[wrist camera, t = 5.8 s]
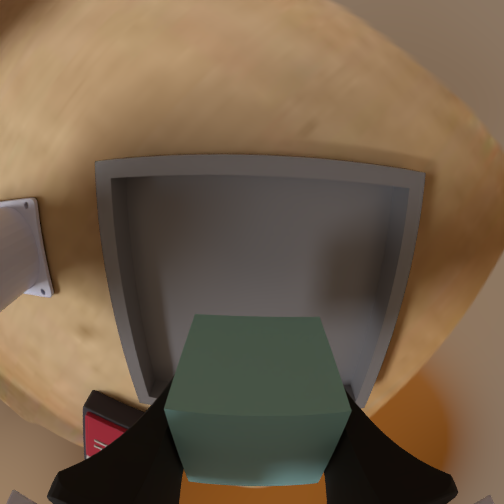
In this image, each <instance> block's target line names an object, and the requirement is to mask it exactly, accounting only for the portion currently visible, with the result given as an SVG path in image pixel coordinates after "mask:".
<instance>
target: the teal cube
mask: <svg viewBox="0 0 504 504" xmlns="http://www.w3.org/2000/svg"><path fill="white" fill-rule="evenodd" d="M164 411H165V414H166V418H167V421H168V424H169V427H170V430H171V433H172V436H173V439H174V442H175V445H176V448H177V451H178V454H179V457H180V460H181V462H182V465H183V468H184V470H185V473H186V475H187V478H188V480H189V481H191V482H199V483H209V484H221V485H238V486H282V485H300V484H311V483H318V481H319V480H320V478H321V476H322V474H323V472H324V470H325V468H326V466H327V464H328V462H329V460H330V458H331V456H332V454H333V452H334V450H335V448H336V446H337V444H338V441H339V439H340V437H341V435H342V432H343V430H344V428H345V426H346V423H347V421H348V419H349V416H350V414H351V408H350V404H349V401H348V398H347V395H346V392H345V389H344V386H343V383H342V380H341V377H340V374H339V371H338V368H337V365H336V362H335V359H334V356H333V353H332V350H331V347H330V345H329V342H328V339H327V336H326V333H325V330H324V328H323V325H322V322H321V319H320V317H259V316H225V315H203V314H195V315H194V318H193V321H192V324H191V327H190V330H189V333H188V336H187V339H186V342H185V345H184V348H183V351H182V354H181V357H180V360H179V363H178V366H177V369H176V372H175V375H174V378H173V381H172V385H171V388H170V391H169V394H168V397H167V400H166V404H165V407H164Z"/></svg>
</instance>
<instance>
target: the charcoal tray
mask: <svg viewBox="0 0 504 504" xmlns="http://www.w3.org/2000/svg"><path fill="white" fill-rule="evenodd" d="M425 174H426V173H424V172H419V171H414V170H409V169H403V168H397V167H391V166H384V165H377V164H369V163H361V162H353V161H344V160H334V159H324V158H312V157H298V156H281V155H257V154H183V155H160V156H143V157H130V158H118V159H109V160H101V161H95V179H96V195H97V208H98V219H99V228H100V236H101V244H102V251H103V258H104V264H105V270H106V276H107V282H108V287H109V292H110V297H111V302H112V307H113V311H114V316H115V320H116V324H117V328H118V332H119V336H120V340H121V344H122V348H123V351H124V355H125V358H126V362H127V365H128V368H129V372H130V375H131V378H132V381H133V384H134V387H135V390H136V393H137V396H138V399H139V402H140V403H144V404H150V405H152V404H153V403H154V401H155V400H156V399H157V398H158V396H159V395H160V394H161V393H162V391H163V390H164V389H165V387H166V386H167V385H168V383H169V382H170V380H171V379H172V378H173V376H174V375H175V372H176V369H177V366H178V363H179V360H180V357H181V354H182V351H183V348H184V345H185V342H186V339H187V336H188V333H189V330H190V327H191V324H192V321H193V318H194V315H195V314H203V315H225V316H259V317H320V319H321V322H322V325H323V328H324V330H325V333H326V336H327V339H328V342H329V345H330V347H331V350H332V353H333V356H334V359H335V362H336V365H337V368H338V371H339V374H340V377H341V380H342V383H343V386H344V388H345V389H346V391H347V392H348V393H349V395H350V396H351V397H352V399H353V400H354V401H355V403H356V404H357V405H358V406H359V407H360V408H364V407H365V405H366V402H367V400H368V398H369V395H370V393H371V391H372V388H373V386H374V383H375V381H376V378H377V376H378V373H379V371H380V368H381V366H382V363H383V360H384V357H385V355H386V352H387V349H388V346H389V343H390V340H391V337H392V334H393V331H394V328H395V324H396V321H397V318H398V315H399V311H400V308H401V304H402V300H403V297H404V293H405V289H406V285H407V281H408V277H409V273H410V268H411V264H412V259H413V254H414V249H415V244H416V239H417V233H418V228H419V222H420V215H421V208H422V201H423V193H424V184H425Z"/></svg>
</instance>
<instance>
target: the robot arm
mask: <svg viewBox="0 0 504 504" xmlns="http://www.w3.org/2000/svg"><path fill="white" fill-rule="evenodd" d="M27 203H28V205H29V206H28V205H27ZM23 293H24V294H30V295H36V296H42V297H48V298H50V297H51V296H53V294H54V290H53V287H52V283H51V278H50V274H49V270H48V265H47V261H46V256H45V250H44V245H43V239H42V233H41V227H40V220H39V212H38V203H37V200H36V199H35V198H33V197H31V198H23V199H14V200H6V201H0V312H1V311H2V310H3V309H5V308H6V307H7V306H8V305H9V304H11V303H12V302H13V301H14V300H15V299H17V298H18V297H19V296H20V295H22V294H23ZM173 378H174V376H173ZM173 378H172V379H171V380H170V382H169V383H168V385H167V386H166V387H165V389H164V390H163V391H162V393H161V394H160V395H159V396H158V398H157V399H156V400H155V401H154V403H153V404H152V405H151V406H150V407H149V408H148V410H147V411H146V412H145V413H144V414H143V415H142V416H141V417H140V418H139V419H138V420H137V421H136V422H135V423H134V424H133V425H132V426H131V427H130V428H129V429H128V430H127V431H126V432H124V433H123V434H122V435H121V436H120V437H118V438H117V439H116V440H114V441H113V442H112V443H111V444H109V445H108V446H106V447H105V448H104V449H102V450H101V451H99V452H97V453H96V454H94V455H92V456H91V457H89V458H87V459H85V460H84V461H82V462H80V463H78V464H76V465H74V466H71V467H69V468H67V469H64V470H62V471H59V472H58V474H57V475H56V477H55V479H54V481H53V483H52V485H51V488H50V490H49V492H48V495H47V498H48V499H49V501H51V502H52V503H53V504H179V498H180V489H181V481H182V474H183V469H184V468H183V465H182V462H181V460H180V457H179V454H178V451H177V448H176V445H175V442H174V439H173V436H172V433H171V430H170V427H169V424H168V421H167V418H166V414H165V411H164V407H165V404H166V400H167V397H168V394H169V391H170V388H171V385H172V381H173ZM344 389H345V388H344ZM345 392H346V395H347V398H348V401H349V404H350V408H351V414H350V416H349V419H348V421H347V423H346V426H345V428H344V430H343V432H342V435H341V437H340V439H339V441H338V444H337V446H336V448H335V450H334V452H333V454H332V456H331V458H330V460H329V462H328V464H327V466H326V468H325V470H324V475H325V483H326V495H327V504H447V503H448V502H449V501H451V500H452V499H453V498H455V497H456V495H457V494H458V490H457V487H456V485H455V482H454V480H453V478H452V476H451V475H450V474H447V473H445V472H443V471H440V470H438V469H436V468H434V467H431V466H429V465H428V464H426V463H424V462H422V461H420V460H418V459H417V458H415V457H414V456H412V455H411V454H409V453H408V452H407V451H405V450H404V449H402V448H401V447H399V446H398V445H397V444H396V443H394V442H393V441H392V440H391V439H390V438H389V437H387V436H386V435H385V434H384V433H383V432H382V431H381V430H380V429H379V428H378V427H377V426H376V425H375V424H374V423H373V422H372V421H371V420H370V419H369V418H368V417H367V416H366V414H365V413H364V412H363V411H362V410H361V409H360V407H359V406H358V405H357V404H356V403H355V401H354V400H353V399H352V397H351V396H350V395H349V393H348V392H347V391H346V389H345ZM7 504H37V503H35V502H33V501H31V500H30V499H28V498H27V497H25V496H23V495H22V494H20V493H19V492H17V491H16V490H12V493H11V495H10V497H9V499H8V501H7ZM475 504H494V502H493V500H492V498H491V496H490V495H488V496H486V497H485V498H483V499H481V500H480V501H478V502H476V503H475Z"/></svg>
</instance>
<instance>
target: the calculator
mask: <svg viewBox="0 0 504 504" xmlns="http://www.w3.org/2000/svg"><path fill="white" fill-rule="evenodd" d="M144 413H145V412H142V411H140V410H137V409H135V408H133V407H130V406H128V405H126V404H123V403H121V402H119V401H117V400H114V399H112V398H110V397H108V396H106V395H104V394H102V393H100V392H98V391H95V390H92V392H91V394H90V395H89V397H88V399H87V401H86V402H85V404H84V406H83V439H84V457H85V459H87V458H89V457H91V456H92V455H94V454H96V453H97V452H99V451H101V450H102V449H104V448H105V447H106V446H108V445H109V444H111V443H112V442H113V441H114V440H116V439H117V438H118V437H120V436H121V435H122V434H123V433H124V432H126V431H127V430H128V429H129V428H130V427H131V426H132V425H133V424H134V423H135V422H136V421H137V420H138V419H139V418H140V417H141V416H142V415H143V414H144Z"/></svg>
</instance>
